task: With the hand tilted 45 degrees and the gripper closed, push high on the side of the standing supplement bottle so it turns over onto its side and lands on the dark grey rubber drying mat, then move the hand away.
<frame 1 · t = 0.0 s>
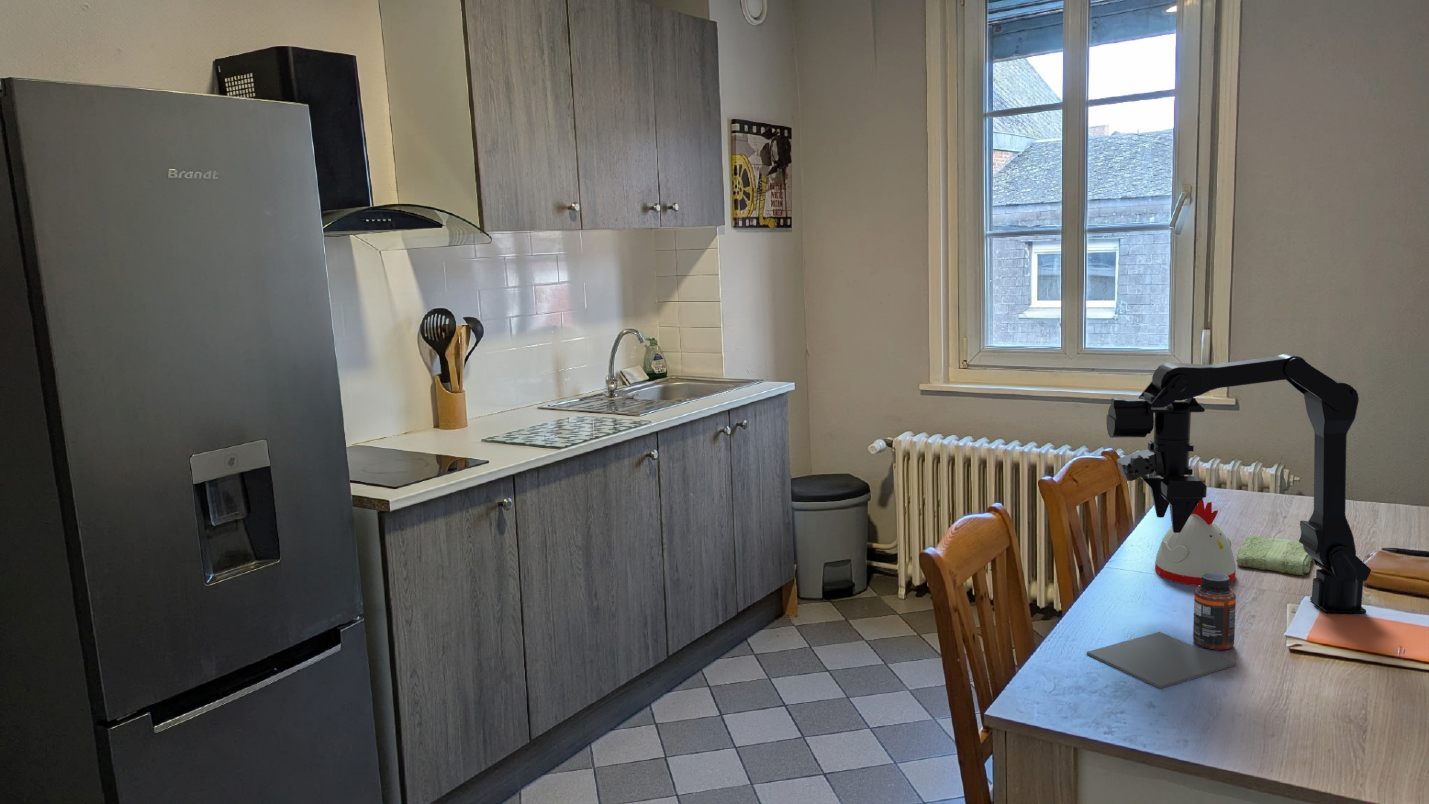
hand: (1168, 524, 174), 15 cm above the table, tool pointing down, fingers open, 9 cm apart
kitchen timer: (1194, 574, 192), on the table
washcloth: (1275, 562, 198), on the table
supplement bottle: (1213, 645, 160), on the table
drying mat: (1159, 659, 154), on the table
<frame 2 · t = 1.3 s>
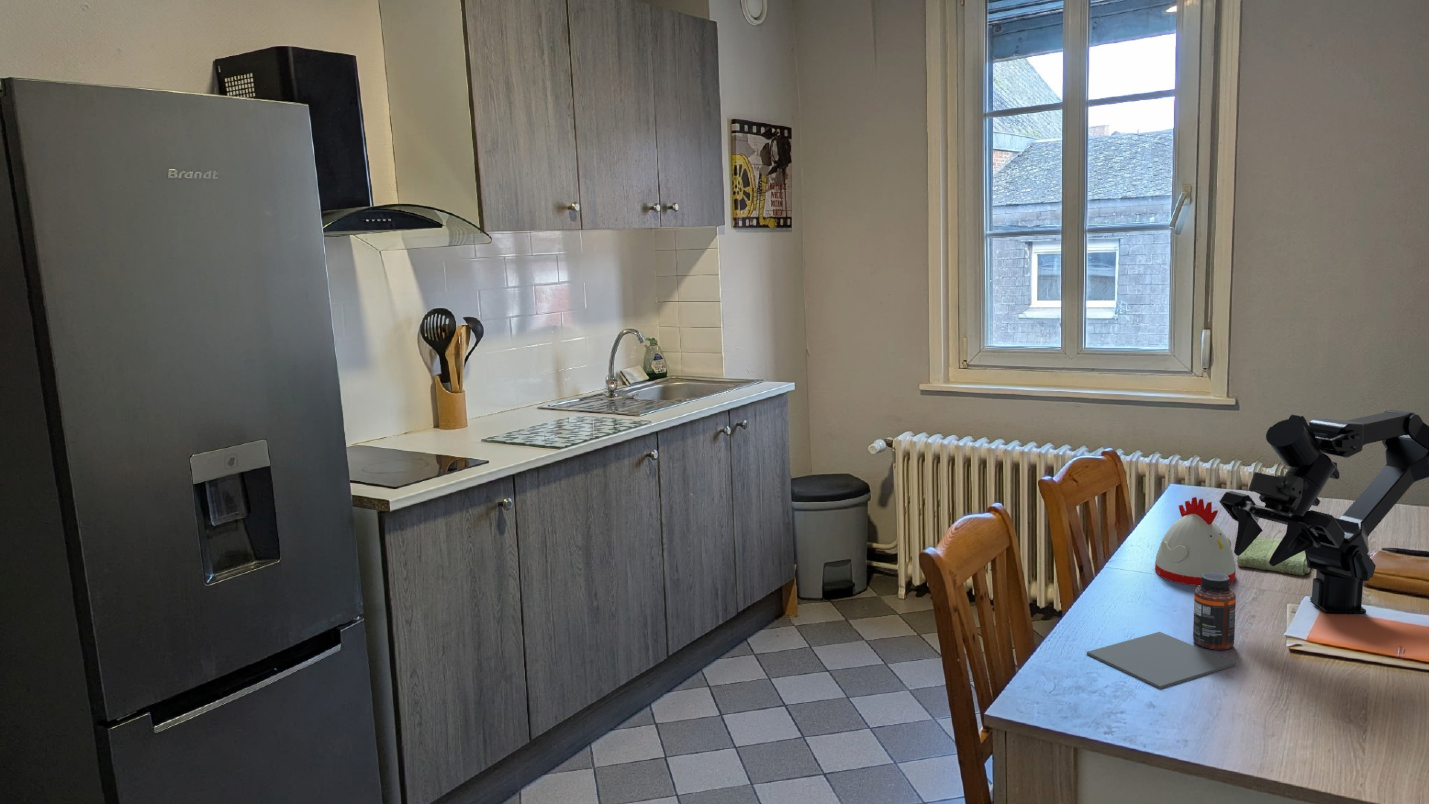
hand: (1253, 559, 161), 13 cm above the table, tool tilted 45°, fingers open, 6 cm apart
nothing on the table moved.
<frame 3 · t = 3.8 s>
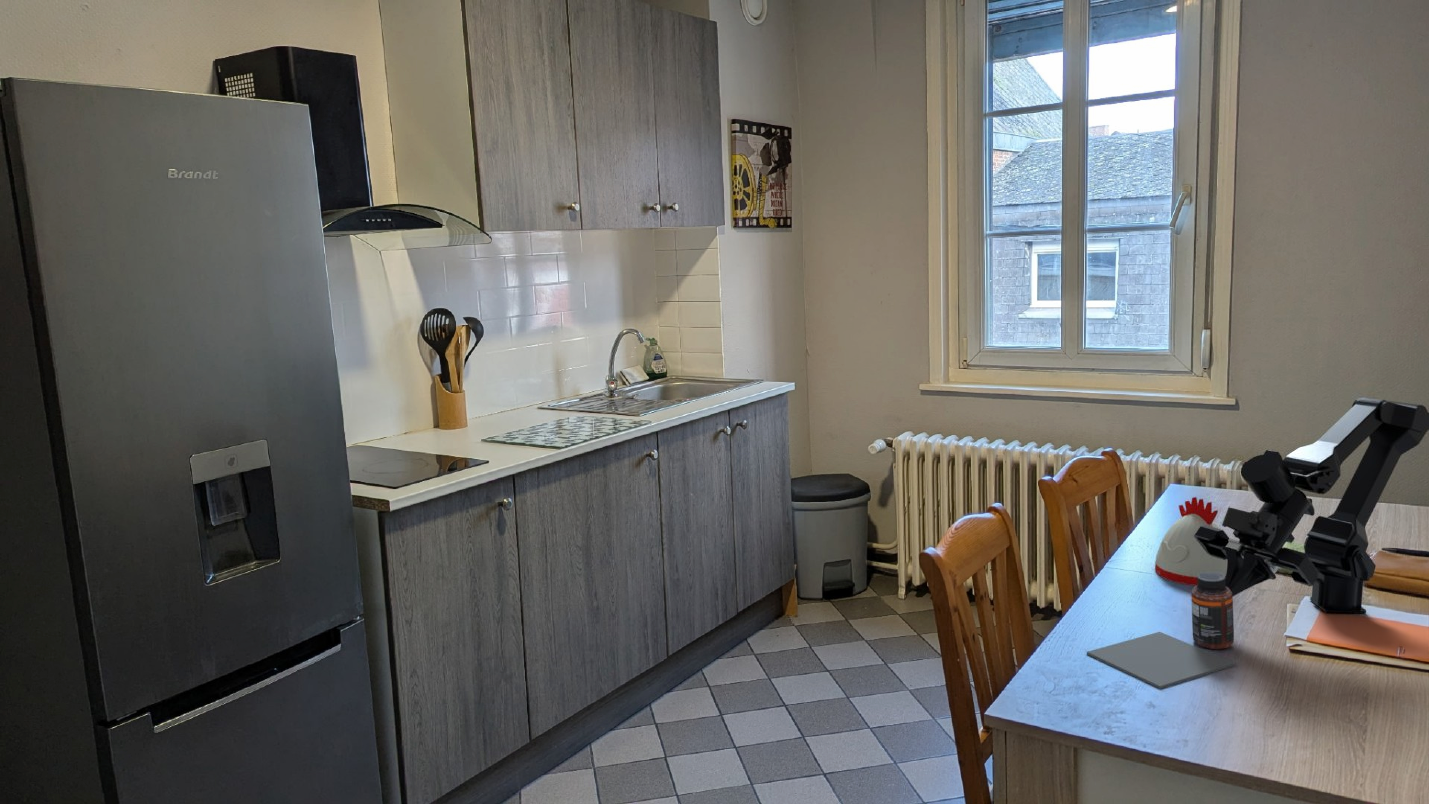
hand: (1225, 595, 159), 8 cm above the table, tool tilted 45°, fingers closed, pressing on supplement bottle
supplement bottle: (1213, 643, 159), on the table, touching gripper
everything else where it was.
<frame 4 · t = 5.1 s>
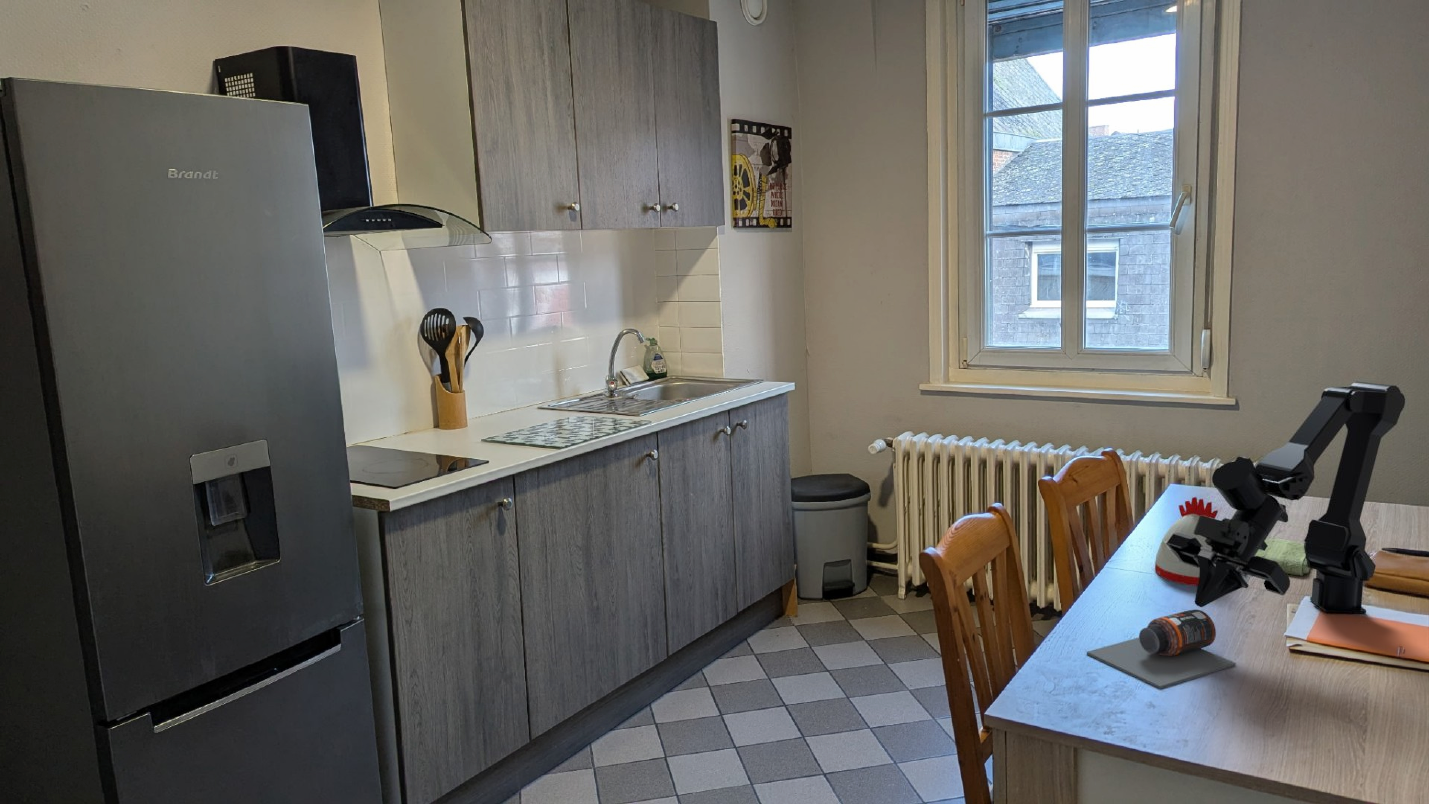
hand: (1197, 605, 157), 7 cm above the table, tool tilted 45°, fingers closed
supplement bottle: (1202, 627, 158), point 3 cm above the table, touching drying mat
everything else where it was.
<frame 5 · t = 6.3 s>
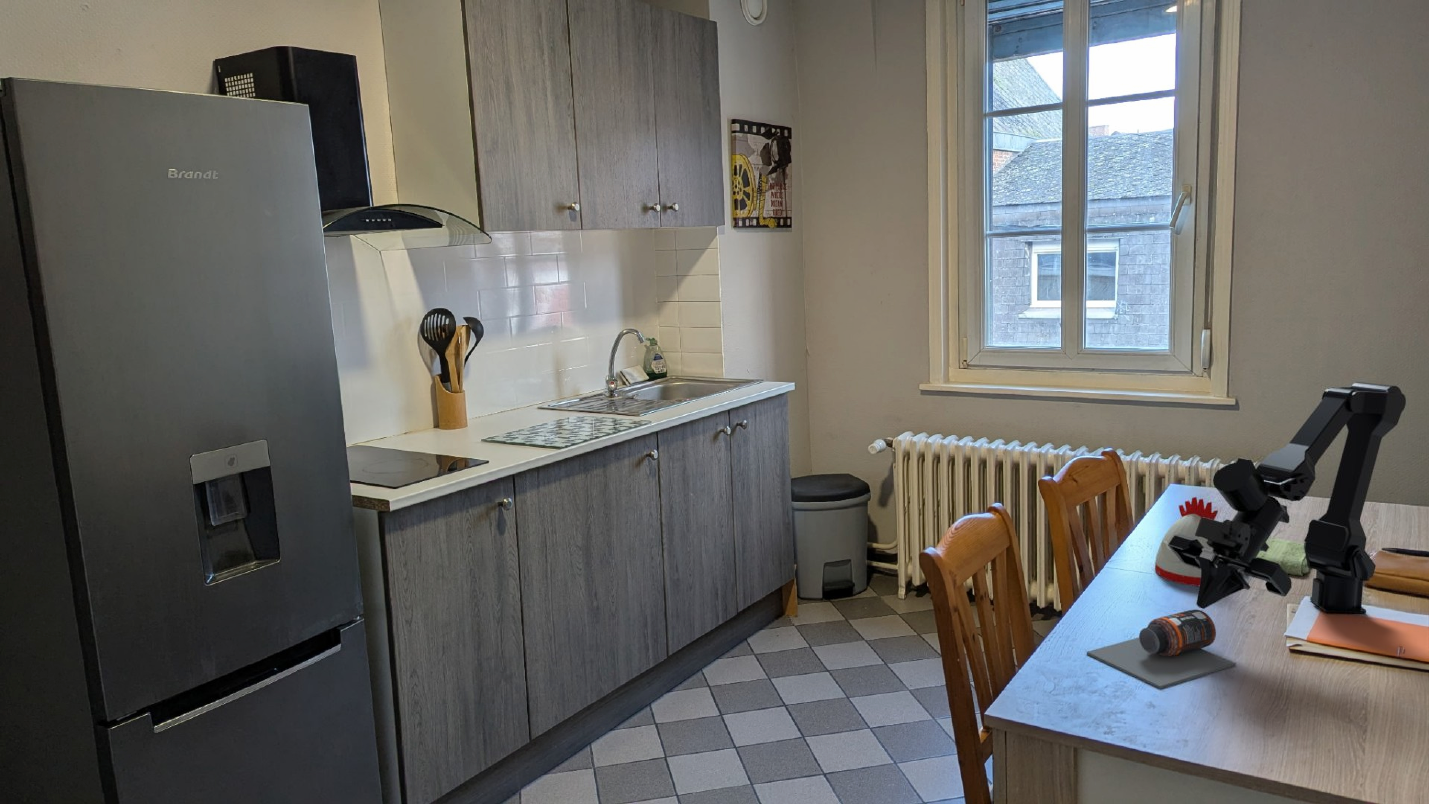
hand: (1199, 606, 157), 7 cm above the table, tool tilted 45°, fingers closed
nothing on the table moved.
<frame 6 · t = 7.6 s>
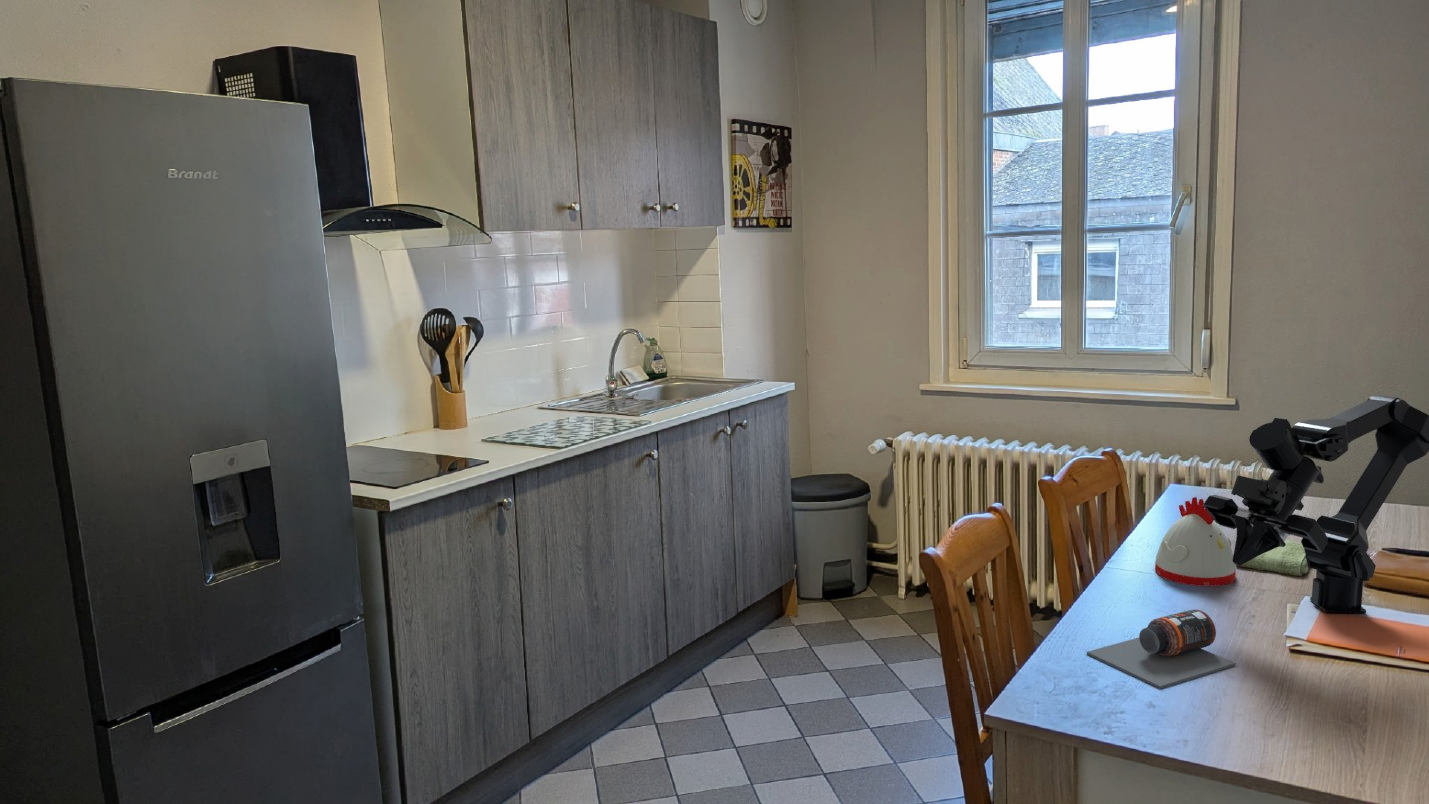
hand: (1235, 563, 159), 13 cm above the table, tool tilted 45°, fingers closed
nothing on the table moved.
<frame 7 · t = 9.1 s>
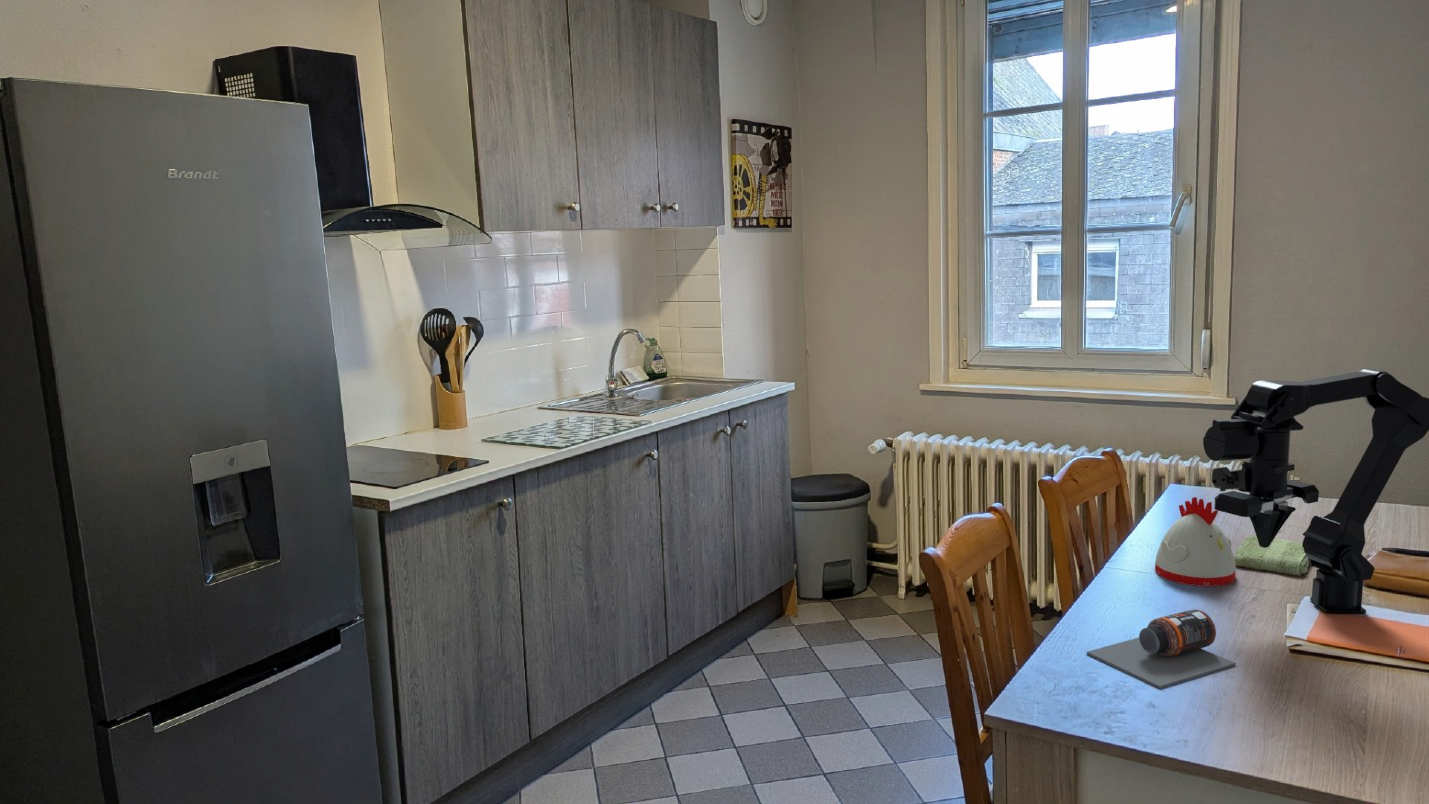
hand: (1264, 547, 169), 12 cm above the table, tool pointing down, fingers closed
nothing on the table moved.
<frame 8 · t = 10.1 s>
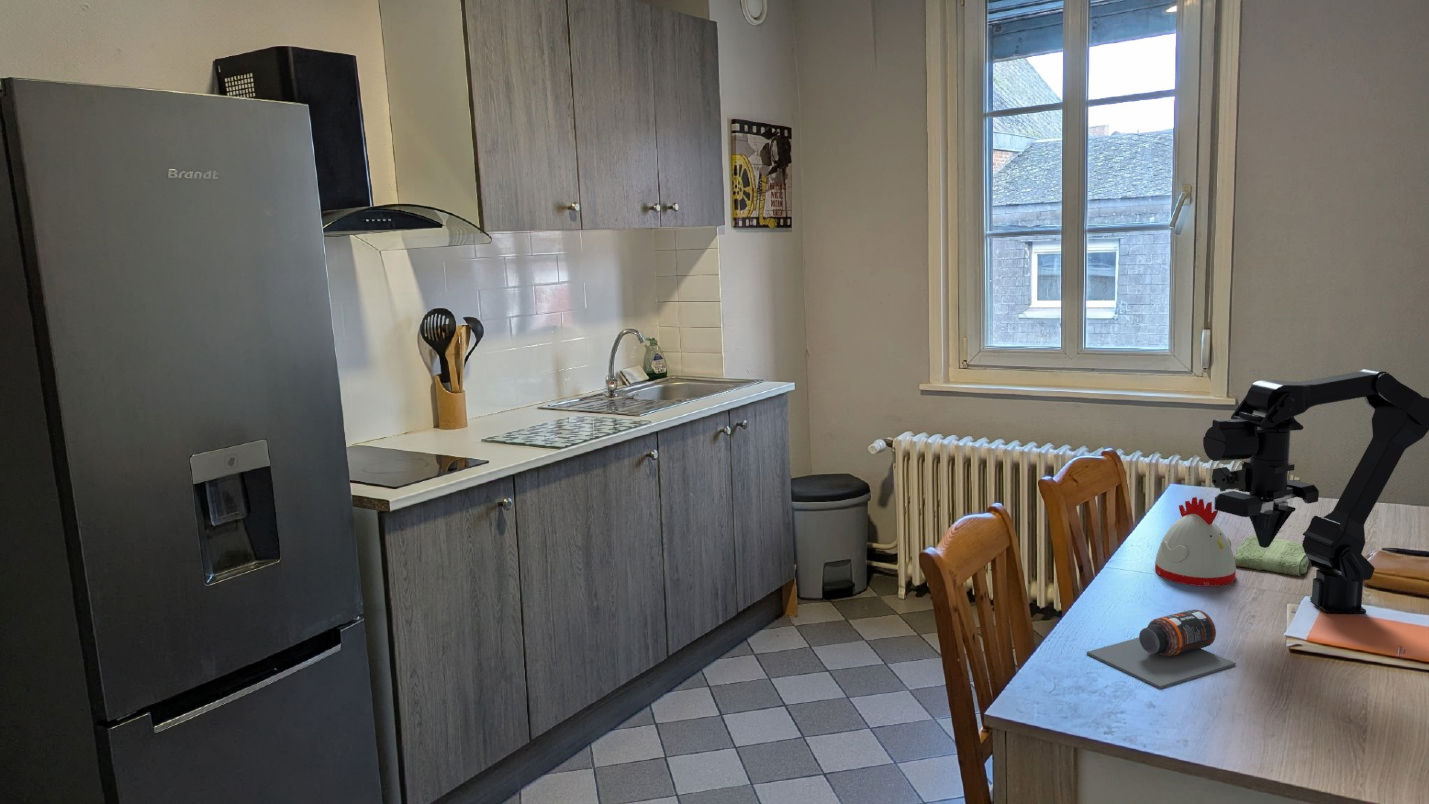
hand: (1264, 547, 169), 12 cm above the table, tool pointing down, fingers closed
nothing on the table moved.
at the end: supplement bottle tilted 90°; supplement bottle touching drying mat; the gripper is holding nothing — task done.
